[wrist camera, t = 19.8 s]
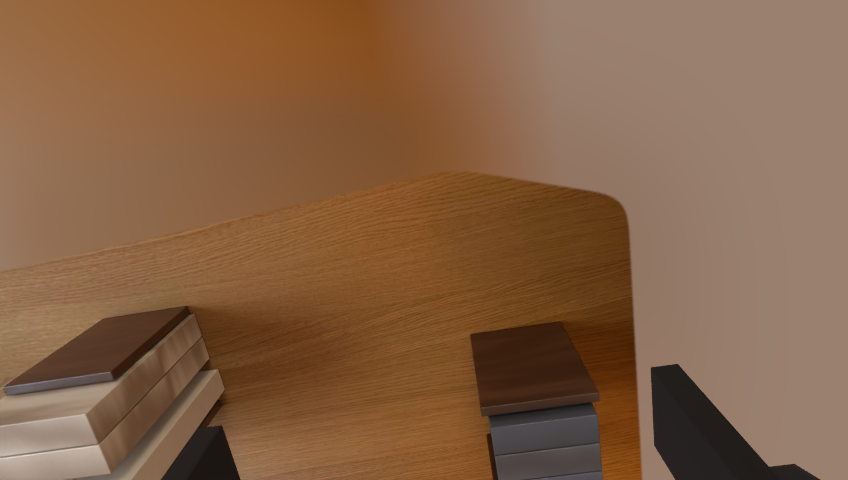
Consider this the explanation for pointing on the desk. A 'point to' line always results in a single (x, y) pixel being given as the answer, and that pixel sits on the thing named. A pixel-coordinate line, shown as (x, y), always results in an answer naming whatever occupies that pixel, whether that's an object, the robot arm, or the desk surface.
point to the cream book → (169, 431)
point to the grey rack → (537, 404)
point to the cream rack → (98, 396)
